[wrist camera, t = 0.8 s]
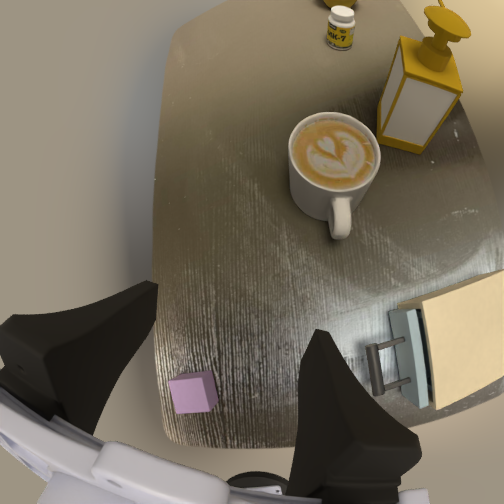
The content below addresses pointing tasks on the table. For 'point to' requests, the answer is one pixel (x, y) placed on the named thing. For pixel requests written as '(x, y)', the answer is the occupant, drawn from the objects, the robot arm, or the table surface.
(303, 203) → the coffee mug
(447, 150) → the table surface
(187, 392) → the block
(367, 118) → the table surface
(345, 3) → the flower pot
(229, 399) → the table surface
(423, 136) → the soap bottle
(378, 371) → the drawer
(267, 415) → the table surface
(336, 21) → the supplement bottle
